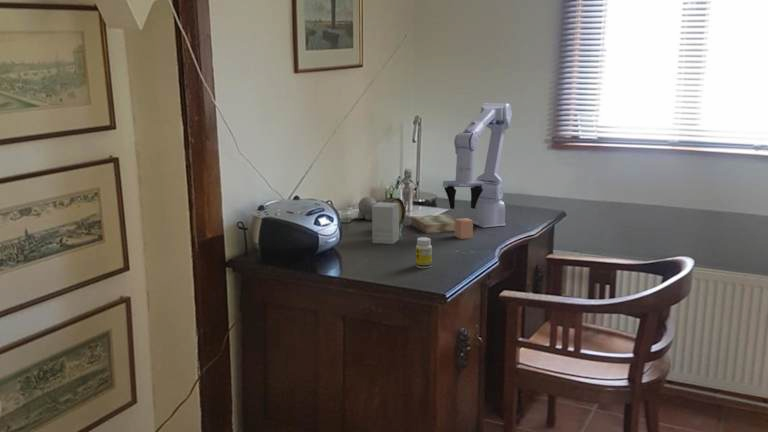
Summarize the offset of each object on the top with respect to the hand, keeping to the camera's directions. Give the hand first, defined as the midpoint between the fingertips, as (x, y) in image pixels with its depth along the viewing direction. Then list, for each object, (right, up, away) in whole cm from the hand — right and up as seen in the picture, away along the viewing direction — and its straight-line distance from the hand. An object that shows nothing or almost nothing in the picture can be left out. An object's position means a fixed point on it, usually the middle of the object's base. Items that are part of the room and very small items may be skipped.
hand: (462, 208), depth 259 cm
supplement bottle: (-15, -18, -33) cm, 40 cm away
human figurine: (-18, -2, +36) cm, 40 cm away
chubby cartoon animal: (-31, -4, +28) cm, 42 cm away
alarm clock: (-24, -8, +11) cm, 28 cm away
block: (+1, -10, +2) cm, 10 cm away
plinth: (-8, -7, +16) cm, 19 cm away
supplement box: (-26, -11, -4) cm, 29 cm away
